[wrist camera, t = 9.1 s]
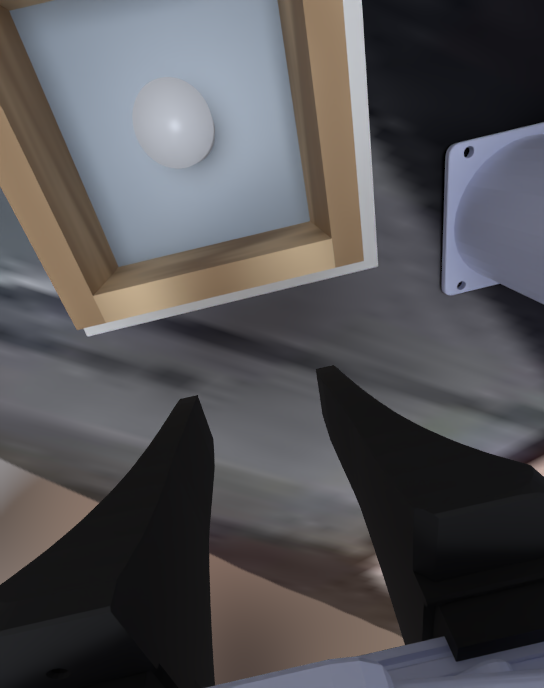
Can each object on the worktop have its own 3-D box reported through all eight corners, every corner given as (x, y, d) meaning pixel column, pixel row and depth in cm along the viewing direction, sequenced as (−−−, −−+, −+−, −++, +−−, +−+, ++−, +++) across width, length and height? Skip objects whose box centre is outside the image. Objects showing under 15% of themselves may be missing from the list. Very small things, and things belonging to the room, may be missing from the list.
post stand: (340, -183, 12) (413, -392, 8) (371, 261, 20) (417, 296, 15) (-113, -79, 12) (-326, -224, 8) (93, 328, 20) (53, 384, 15)
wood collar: (296, -107, 12) (325, -207, 9) (336, 239, 18) (363, 260, 15) (-45, -27, 12) (-152, -98, 9) (105, 295, 18) (76, 329, 15)
